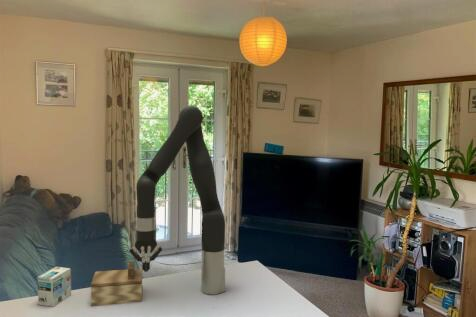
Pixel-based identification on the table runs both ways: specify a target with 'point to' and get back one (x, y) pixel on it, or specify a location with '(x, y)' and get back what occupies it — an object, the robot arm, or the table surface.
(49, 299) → the light bulb box
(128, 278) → the lid
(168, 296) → the table surface
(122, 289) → the wooden box
